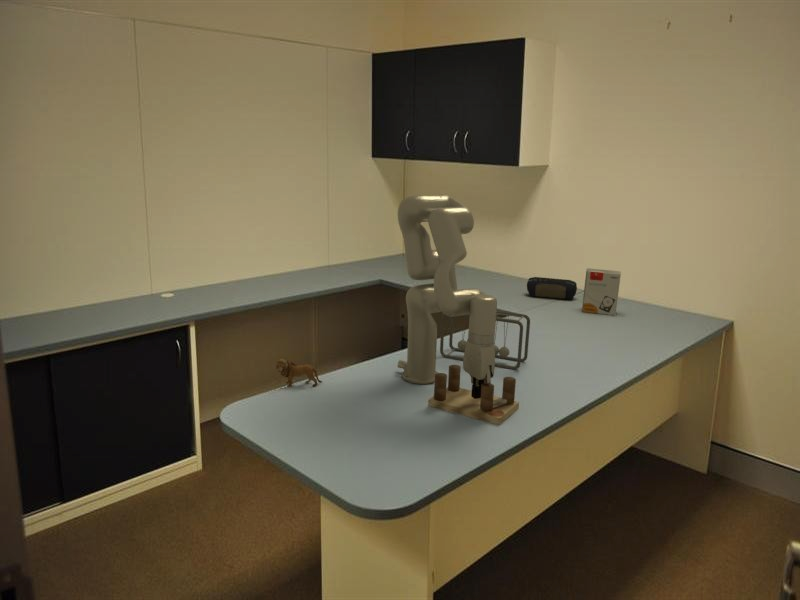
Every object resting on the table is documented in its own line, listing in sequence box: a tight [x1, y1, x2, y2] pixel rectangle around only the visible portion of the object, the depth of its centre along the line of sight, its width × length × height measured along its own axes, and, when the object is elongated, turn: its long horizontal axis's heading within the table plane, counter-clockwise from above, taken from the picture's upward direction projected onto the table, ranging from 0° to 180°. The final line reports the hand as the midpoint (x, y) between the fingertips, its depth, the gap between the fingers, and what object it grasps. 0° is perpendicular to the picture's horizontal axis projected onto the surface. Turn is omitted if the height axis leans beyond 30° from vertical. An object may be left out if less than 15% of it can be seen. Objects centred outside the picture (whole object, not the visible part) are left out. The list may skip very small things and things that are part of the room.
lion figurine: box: [275, 358, 323, 388], centre depth 205 cm, size 15×5×9 cm, turn 103°
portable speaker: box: [526, 276, 578, 300], centre depth 331 cm, size 25×10×10 cm, turn 72°
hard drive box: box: [581, 267, 622, 316], centre depth 304 cm, size 16×8×20 cm, turn 73°
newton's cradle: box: [439, 310, 531, 371], centre depth 233 cm, size 30×10×18 cm, turn 65°
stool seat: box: [427, 364, 520, 425], centre depth 191 cm, size 23×14×10 cm, turn 58°
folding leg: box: [480, 376, 517, 411], centre depth 188 cm, size 13×4×7 cm, turn 128°
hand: (477, 397), depth 190 cm, fingers closed
